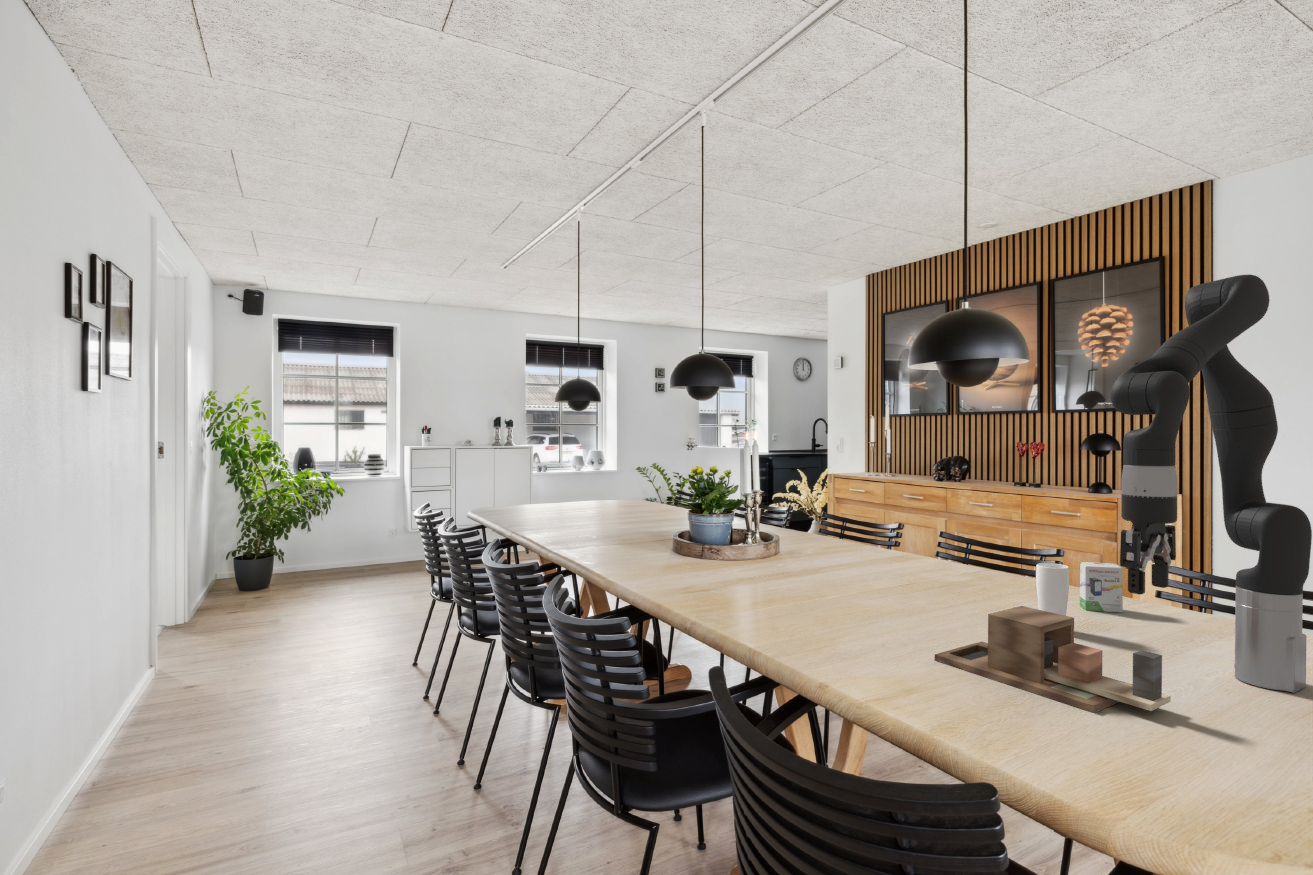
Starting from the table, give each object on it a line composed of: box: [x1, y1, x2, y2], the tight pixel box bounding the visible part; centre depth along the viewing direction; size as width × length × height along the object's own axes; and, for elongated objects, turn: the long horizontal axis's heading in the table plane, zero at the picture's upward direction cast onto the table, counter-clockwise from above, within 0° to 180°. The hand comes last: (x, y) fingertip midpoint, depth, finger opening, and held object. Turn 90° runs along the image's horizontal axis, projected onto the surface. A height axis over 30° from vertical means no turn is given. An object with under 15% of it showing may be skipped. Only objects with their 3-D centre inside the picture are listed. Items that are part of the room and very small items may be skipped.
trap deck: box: [934, 605, 1133, 714], centre depth 129 cm, size 30×16×11 cm, turn 32°
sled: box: [1044, 637, 1172, 712], centre depth 120 cm, size 21×7×8 cm, turn 32°
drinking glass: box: [1035, 562, 1070, 616], centre depth 159 cm, size 7×7×15 cm
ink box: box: [1079, 561, 1124, 613], centre depth 177 cm, size 9×5×12 cm, turn 73°
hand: (1148, 590), depth 113 cm, fingers open, 8 cm apart
